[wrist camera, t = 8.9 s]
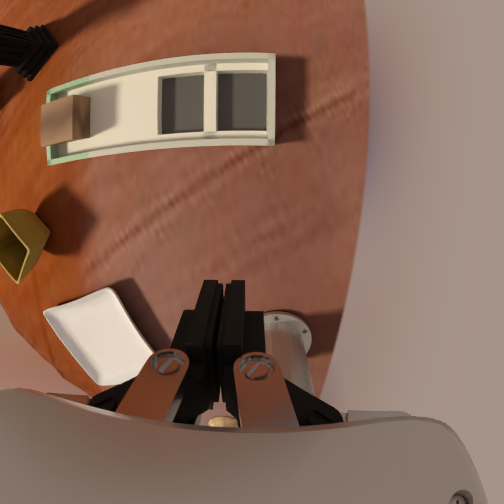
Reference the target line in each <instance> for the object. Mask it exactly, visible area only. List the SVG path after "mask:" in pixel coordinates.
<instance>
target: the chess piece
mask: <svg viewBox="0 0 504 504" xmlns="http://www.w3.org/2000/svg"><path fill="white" fill-rule="evenodd" d="M58 46H59V44H58V43H57V41H56V40H55V39H54V37H53V36H52V35H51V33H50V32H49V31H48V29H47V28H46V27H45V25H41V26H40V27H39V26H35V27H34V29H33V27H29V28H28V29H27V30H26V31H23V30H20V29H16V28H12V27H8V26H4V25H0V65H5V66H13V67H14V68H15V70H16V72H17V73H18V74H21V75H22V77H25V78H27V80H28V81H31V80H32V79H33V77H34V76H35V75H36V73H37V72H38V71H39V69H40V68H41V67H42V65H43V64H44V63H45V61H46V60H47V59H48V58H49V56H50V55H51V54H52V53H53V52H54V50H55V49H56V48H57V47H58Z"/></svg>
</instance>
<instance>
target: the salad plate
mask: <svg viewBox="0 0 504 504" xmlns="http://www.w3.org/2000/svg"><path fill="white" fill-rule="evenodd" d="M43 313H44V316H45V318H46V319H47V321H48V322H49V324H50V325H51V327H52V328H53V330H54V331H55V333H56V334H57V336H58V337H59V338H60V340H61V341H62V343H63V344H64V345H65V346H66V348H67V349H68V350H69V352H70V353H71V354H72V355H73V357H74V358H75V359H76V360H77V362H78V363H79V364H80V365H81V366H82V368H83V369H84V370H85V371H86V372H87V374H88V375H89V376H90V377H91V378H92V379H93V380H94V381H95V382H96V383H97V384H98V385H102V386H104V385H116V384H121V383H123V382H125V381H128V380H130V379H132V378H134V377H136V376H137V375H138V374H139V372H140V370H141V369H142V367H143V366H144V364H145V362H146V361H147V359H148V358H149V357H150V356H151V355H152V354H153V353H155V351H154V350H153V349H152V348H151V346H150V345H149V344H148V342H147V341H146V339H145V338H144V337H143V335H142V334H141V332H140V331H139V330H138V328H137V327H136V325H135V324H134V322H133V320H132V319H131V317H130V316H129V314H128V312H127V311H126V309H125V307H124V305H123V303H122V302H121V300H120V298H119V296H118V295H117V293H116V292H115V291H114V290H113V289H112V288H110V287H106V288H103V289H101V290H98V291H96V292H94V293H91V294H89V295H87V296H85V297H82V298H80V299H77V300H75V301H72V302H69V303H66V304H63V305H60V306H56V307H52V308H49V309H46V310H45V311H44V312H43Z"/></svg>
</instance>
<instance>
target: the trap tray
mask: <svg viewBox="0 0 504 504" xmlns="http://www.w3.org/2000/svg"><path fill="white" fill-rule="evenodd" d="M70 95H80V96H86V97H91V103H90V138H87V139H82V140H77V141H72V142H67V143H63V144H58V145H51V146H47V163H48V166H49V165H54V164H58V163H63V162H68V161H73V160H79V159H85V158H90V157H97V156H103V155H110V154H117V153H125V152H133V151H142V150H152V149H164V148H177V147H194V146H221V145H268V146H275V53H218V54H203V55H192V56H183V57H175V58H167V59H161V60H154V61H149V62H143V63H138V64H133V65H129V66H124V67H120V68H116V69H112V70H108V71H104V72H100V73H97V74H93V75H90V76H87V77H83V78H80V79H77V80H74V81H71V82H68V83H66V84H63V85H60V86H57V87H55V88H52V89H50V90H47V100H46V103H49V102H52V101H54V100H57V99H60V98H63V97H67V96H70Z"/></svg>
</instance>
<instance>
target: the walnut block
mask: <svg viewBox="0 0 504 504" xmlns="http://www.w3.org/2000/svg"><path fill="white" fill-rule="evenodd" d="M90 103H91V97H86V96H80V95H70V96H67V97H63V98H60V99H57V100H54V101H52V102H49V103H46V104H43V105H41V147H44V146H51V145H58V144H63V143H67V142H72V141H77V140H82V139H87V138H90Z"/></svg>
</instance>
